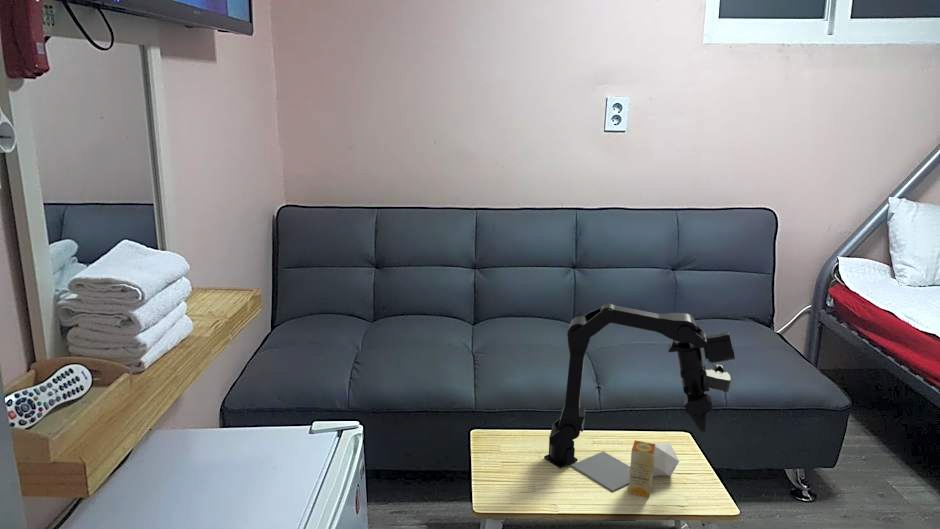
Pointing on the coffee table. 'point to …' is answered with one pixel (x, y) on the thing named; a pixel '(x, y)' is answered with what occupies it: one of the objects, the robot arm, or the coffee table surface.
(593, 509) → the coffee table surface
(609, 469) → the mat
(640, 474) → the shoe polish box
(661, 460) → the die
